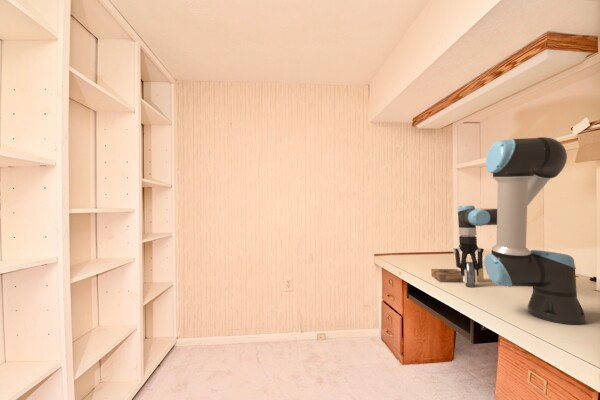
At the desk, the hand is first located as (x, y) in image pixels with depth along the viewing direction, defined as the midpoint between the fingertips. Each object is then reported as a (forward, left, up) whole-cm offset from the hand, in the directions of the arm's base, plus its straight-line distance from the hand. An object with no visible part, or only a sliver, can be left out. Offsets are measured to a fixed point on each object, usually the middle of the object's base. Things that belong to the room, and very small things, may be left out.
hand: (470, 282), depth 134 cm
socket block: (+14, +5, -2) cm, 15 cm away
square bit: (+10, -8, -2) cm, 13 cm away
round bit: (0, 0, -2) cm, 2 cm away
